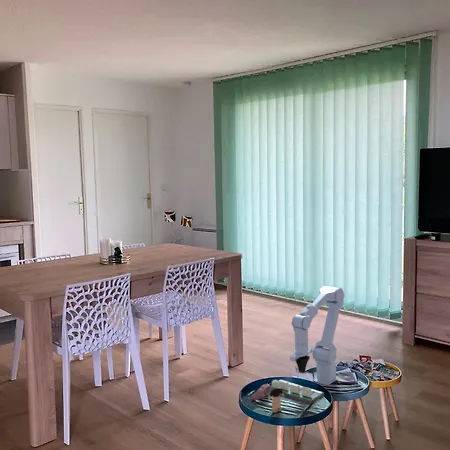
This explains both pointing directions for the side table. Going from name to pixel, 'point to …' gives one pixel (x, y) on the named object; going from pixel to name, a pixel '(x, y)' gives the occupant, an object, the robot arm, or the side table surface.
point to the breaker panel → (300, 397)
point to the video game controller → (261, 392)
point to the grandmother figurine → (276, 396)
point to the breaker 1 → (283, 384)
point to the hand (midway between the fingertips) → (302, 372)
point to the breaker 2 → (306, 391)
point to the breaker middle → (295, 388)
